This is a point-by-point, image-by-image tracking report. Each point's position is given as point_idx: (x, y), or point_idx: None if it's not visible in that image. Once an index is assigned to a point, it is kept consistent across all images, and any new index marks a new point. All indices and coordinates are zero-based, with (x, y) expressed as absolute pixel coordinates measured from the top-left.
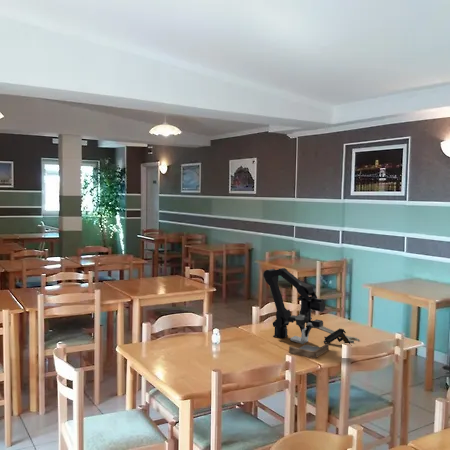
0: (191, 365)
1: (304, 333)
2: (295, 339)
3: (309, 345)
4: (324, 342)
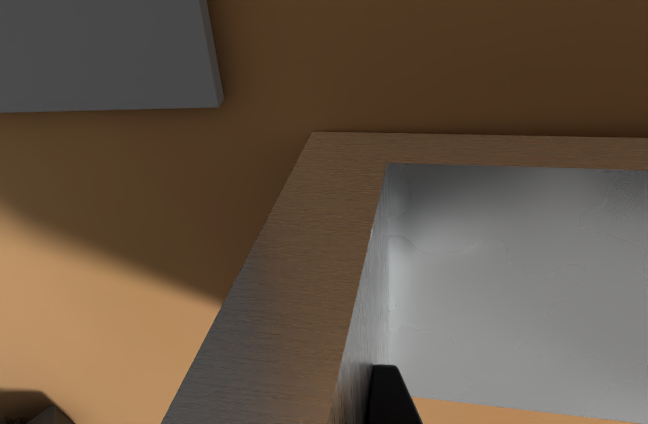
0: None
1: (185, 380)
2: (596, 193)
3: (85, 96)
4: (47, 419)
